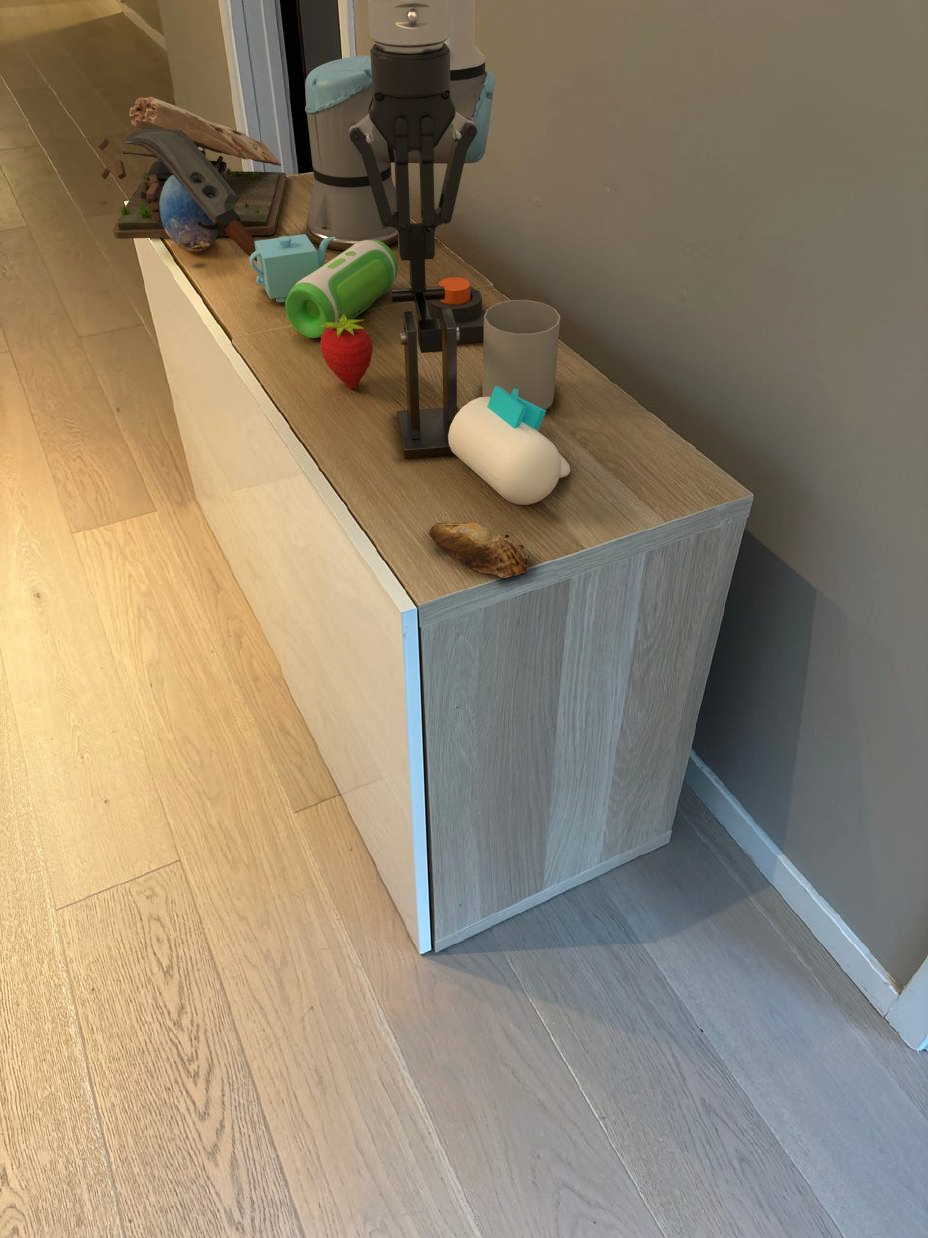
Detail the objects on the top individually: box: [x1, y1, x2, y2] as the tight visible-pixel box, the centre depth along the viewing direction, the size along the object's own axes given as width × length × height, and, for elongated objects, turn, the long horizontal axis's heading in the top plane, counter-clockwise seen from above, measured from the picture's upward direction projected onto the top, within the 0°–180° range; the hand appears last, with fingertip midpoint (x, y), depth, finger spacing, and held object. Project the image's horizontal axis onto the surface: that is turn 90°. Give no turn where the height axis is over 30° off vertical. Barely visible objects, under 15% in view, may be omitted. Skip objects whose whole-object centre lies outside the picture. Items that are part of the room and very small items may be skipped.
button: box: [438, 276, 471, 304], centre depth 119 cm, size 4×4×2 cm
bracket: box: [396, 308, 461, 460], centre depth 99 cm, size 8×7×14 cm
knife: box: [122, 128, 257, 262], centre depth 132 cm, size 9×2×30 cm
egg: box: [159, 175, 218, 253], centre depth 137 cm, size 9×9×15 cm
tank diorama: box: [97, 132, 288, 240], centre depth 148 cm, size 28×25×11 cm
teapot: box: [248, 233, 335, 303], centre depth 127 cm, size 12×6×8 cm, turn 111°
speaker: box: [284, 240, 399, 339], centre depth 122 cm, size 18×7×8 cm, turn 152°
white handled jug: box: [448, 386, 571, 506], centre depth 95 cm, size 12×9×12 cm
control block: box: [426, 286, 485, 344], centre depth 121 cm, size 10×7×4 cm
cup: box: [481, 299, 561, 411], centre depth 106 cm, size 8×8×10 cm
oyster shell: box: [428, 522, 530, 579], centre depth 88 cm, size 6×4×10 cm
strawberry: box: [318, 308, 374, 390], centre depth 107 cm, size 6×8×10 cm
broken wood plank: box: [129, 96, 282, 167], centre depth 149 cm, size 28×12×5 cm, turn 131°
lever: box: [390, 285, 445, 354], centre depth 99 cm, size 14×6×2 cm, turn 8°
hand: (417, 286), depth 103 cm, fingers closed
